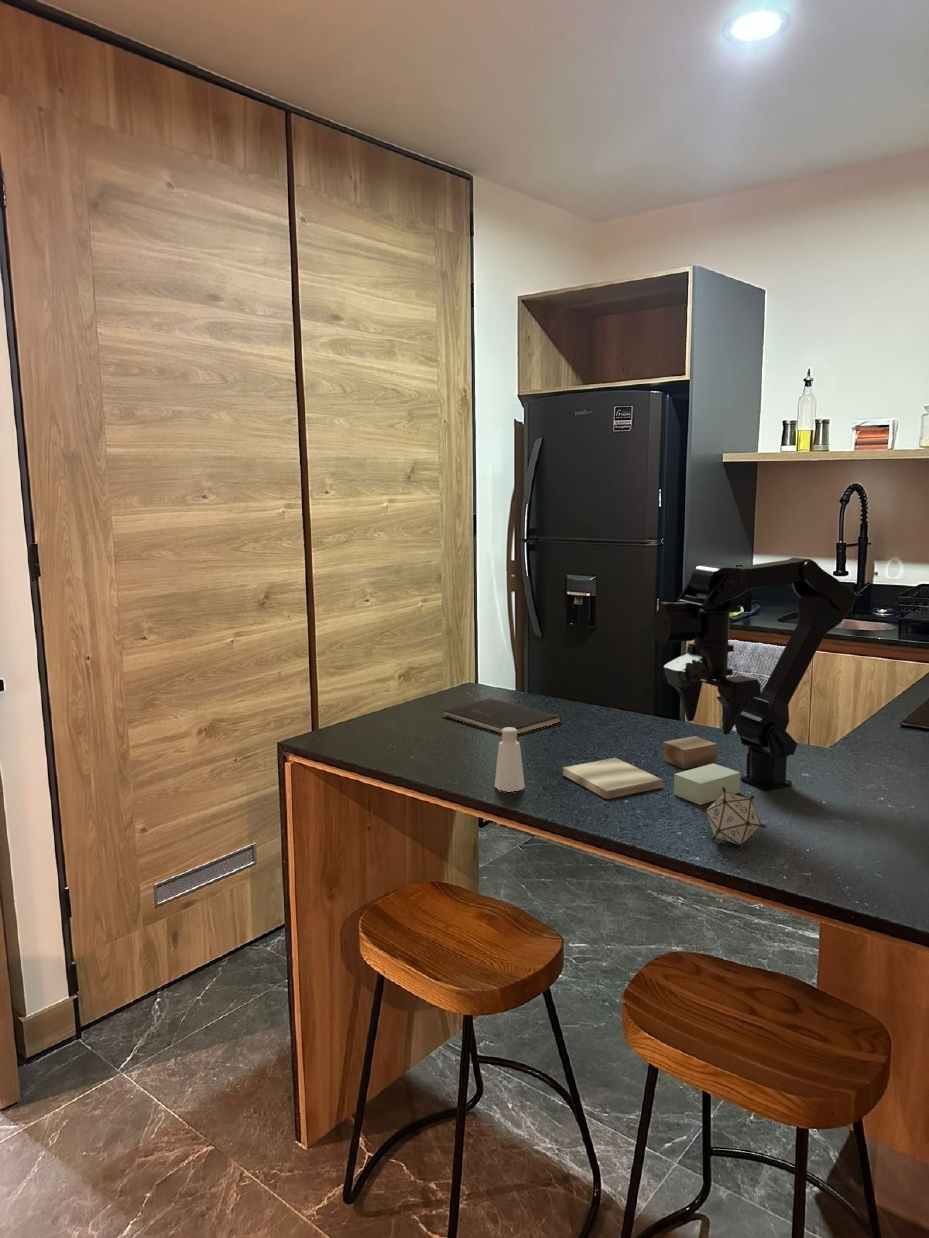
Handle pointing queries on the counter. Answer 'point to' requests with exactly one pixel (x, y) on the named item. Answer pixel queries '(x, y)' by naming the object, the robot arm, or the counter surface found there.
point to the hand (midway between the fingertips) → (707, 727)
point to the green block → (706, 783)
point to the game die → (732, 818)
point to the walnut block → (690, 752)
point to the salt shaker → (509, 762)
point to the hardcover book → (502, 715)
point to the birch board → (612, 778)
